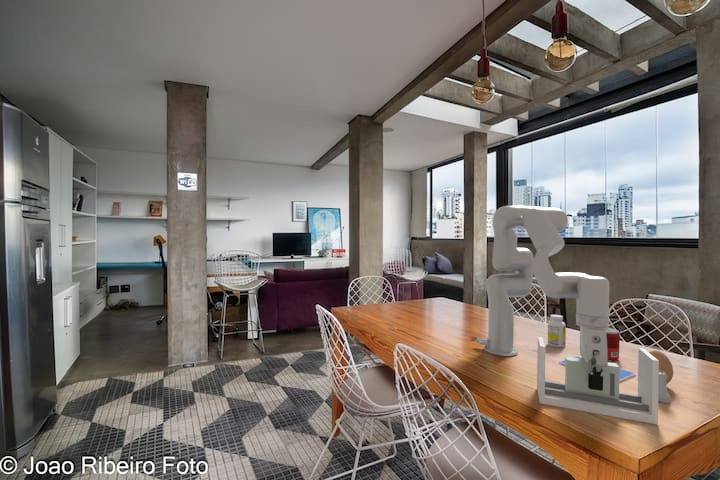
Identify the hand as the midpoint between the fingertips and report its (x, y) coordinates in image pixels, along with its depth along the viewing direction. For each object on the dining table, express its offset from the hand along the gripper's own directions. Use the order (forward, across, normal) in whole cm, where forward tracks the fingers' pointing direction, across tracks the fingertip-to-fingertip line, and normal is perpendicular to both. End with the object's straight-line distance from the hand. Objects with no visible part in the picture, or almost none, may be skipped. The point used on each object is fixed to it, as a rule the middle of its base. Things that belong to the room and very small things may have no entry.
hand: (591, 382), depth 94 cm
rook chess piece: (+6, +12, -19) cm, 23 cm away
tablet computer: (+7, +31, -7) cm, 33 cm away
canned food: (+6, +47, -14) cm, 49 cm away
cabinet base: (+6, 0, 0) cm, 6 cm away
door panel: (+4, 0, 0) cm, 4 cm away
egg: (+6, +24, -22) cm, 33 cm away
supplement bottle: (+6, +56, +2) cm, 56 cm away
